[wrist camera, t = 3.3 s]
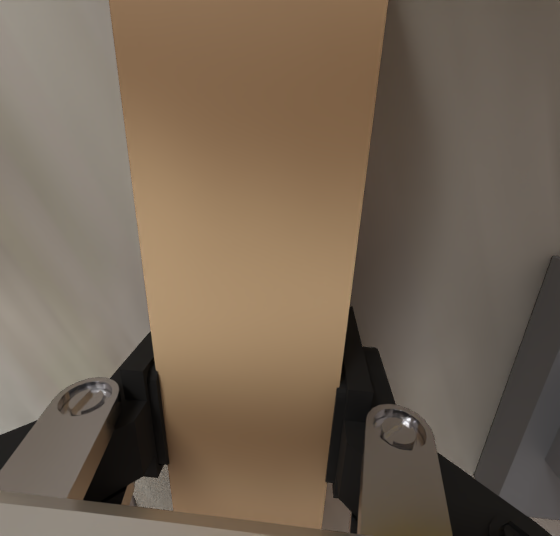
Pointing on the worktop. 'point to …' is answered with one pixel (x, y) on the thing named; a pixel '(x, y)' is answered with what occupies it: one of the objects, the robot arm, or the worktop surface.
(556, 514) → the fulcrum stand
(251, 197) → the oak batten
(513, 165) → the worktop surface
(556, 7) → the worktop surface
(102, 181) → the worktop surface
